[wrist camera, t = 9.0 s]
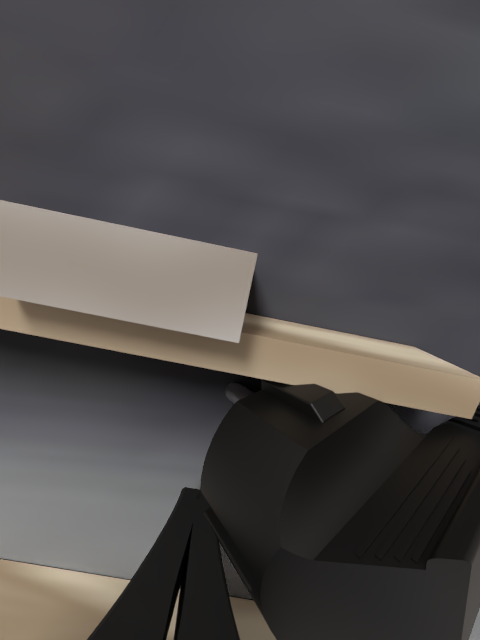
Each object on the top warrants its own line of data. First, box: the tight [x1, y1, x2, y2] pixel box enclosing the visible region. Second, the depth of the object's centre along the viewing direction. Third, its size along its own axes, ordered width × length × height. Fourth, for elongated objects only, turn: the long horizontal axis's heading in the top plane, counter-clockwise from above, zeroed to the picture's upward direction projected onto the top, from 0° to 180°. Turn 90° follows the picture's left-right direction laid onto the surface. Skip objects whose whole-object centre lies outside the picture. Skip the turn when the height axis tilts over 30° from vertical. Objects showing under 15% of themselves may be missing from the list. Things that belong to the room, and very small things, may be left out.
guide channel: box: [0, 200, 480, 640], centre depth 9 cm, size 20×18×4 cm
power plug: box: [200, 379, 480, 640], centre depth 9 cm, size 6×8×12 cm
